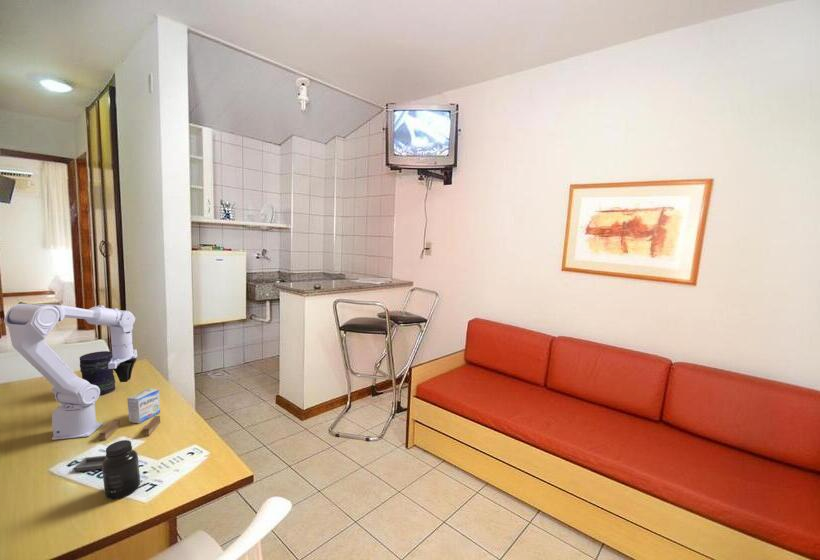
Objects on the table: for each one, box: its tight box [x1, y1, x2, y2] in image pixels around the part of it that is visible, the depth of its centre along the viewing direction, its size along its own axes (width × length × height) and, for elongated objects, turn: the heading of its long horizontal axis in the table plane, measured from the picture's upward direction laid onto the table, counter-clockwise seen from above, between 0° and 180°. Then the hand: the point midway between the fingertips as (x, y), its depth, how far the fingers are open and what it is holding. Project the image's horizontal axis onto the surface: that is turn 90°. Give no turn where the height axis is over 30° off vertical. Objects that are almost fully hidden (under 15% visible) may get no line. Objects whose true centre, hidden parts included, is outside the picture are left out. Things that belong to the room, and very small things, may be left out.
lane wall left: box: [99, 418, 121, 442], centre depth 111 cm, size 2×8×2 cm, turn 14°
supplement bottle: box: [101, 439, 141, 500], centre depth 86 cm, size 7×7×12 cm
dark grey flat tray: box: [74, 455, 107, 473], centre depth 96 cm, size 9×4×1 cm, turn 104°
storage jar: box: [79, 350, 116, 397], centre depth 137 cm, size 10×10×15 cm
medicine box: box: [126, 388, 161, 424], centre depth 120 cm, size 8×4×9 cm, turn 168°
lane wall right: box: [142, 415, 161, 437], centre depth 113 cm, size 2×8×2 cm, turn 14°
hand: (125, 380), depth 125 cm, fingers closed
